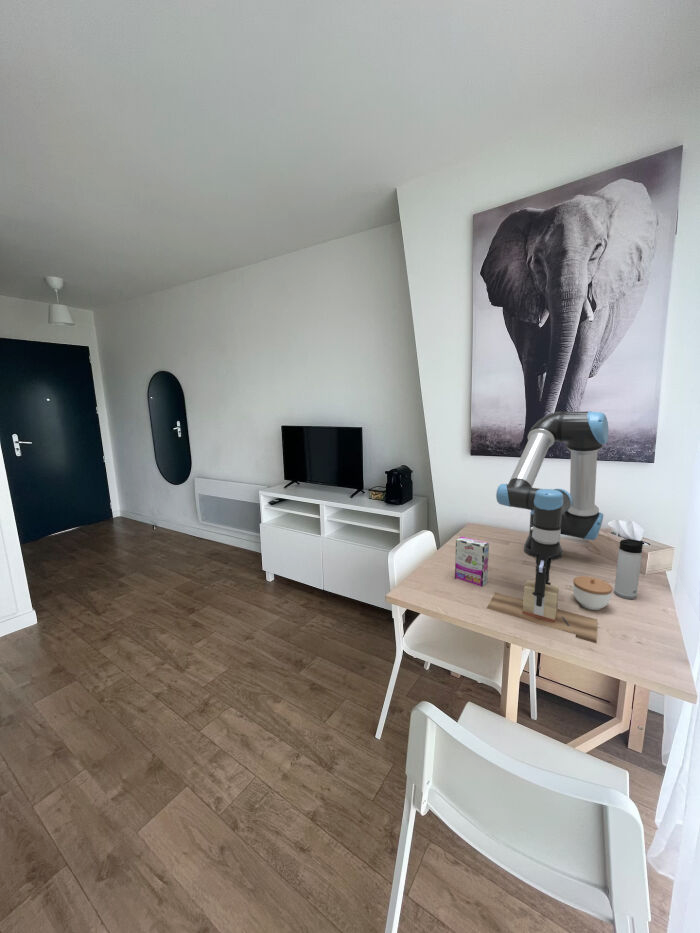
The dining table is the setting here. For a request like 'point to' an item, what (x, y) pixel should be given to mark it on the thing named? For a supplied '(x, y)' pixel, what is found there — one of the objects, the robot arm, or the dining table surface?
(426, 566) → the dining table surface
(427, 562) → the dining table surface
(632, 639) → the dining table surface
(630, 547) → the travel mug
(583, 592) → the lidded jar
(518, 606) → the board
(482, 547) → the candy bar box
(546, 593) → the block
